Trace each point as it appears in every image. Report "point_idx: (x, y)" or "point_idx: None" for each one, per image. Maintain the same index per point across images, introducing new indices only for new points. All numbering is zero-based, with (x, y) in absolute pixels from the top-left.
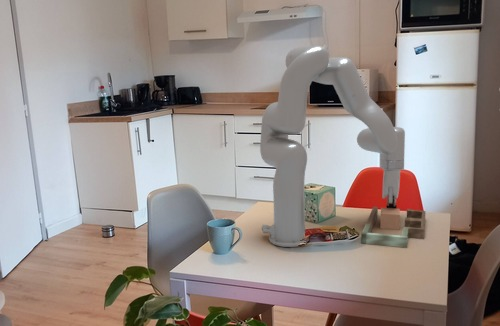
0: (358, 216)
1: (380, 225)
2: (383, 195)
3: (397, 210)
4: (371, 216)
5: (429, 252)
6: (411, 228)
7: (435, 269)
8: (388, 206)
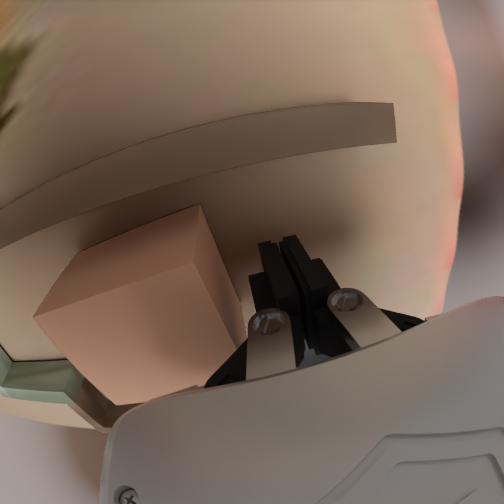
0: (279, 9)
1: (68, 264)
2: (104, 457)
3: (198, 384)
4: (68, 197)
5: (44, 408)
6: (74, 409)
7: (3, 407)
8: (278, 310)
